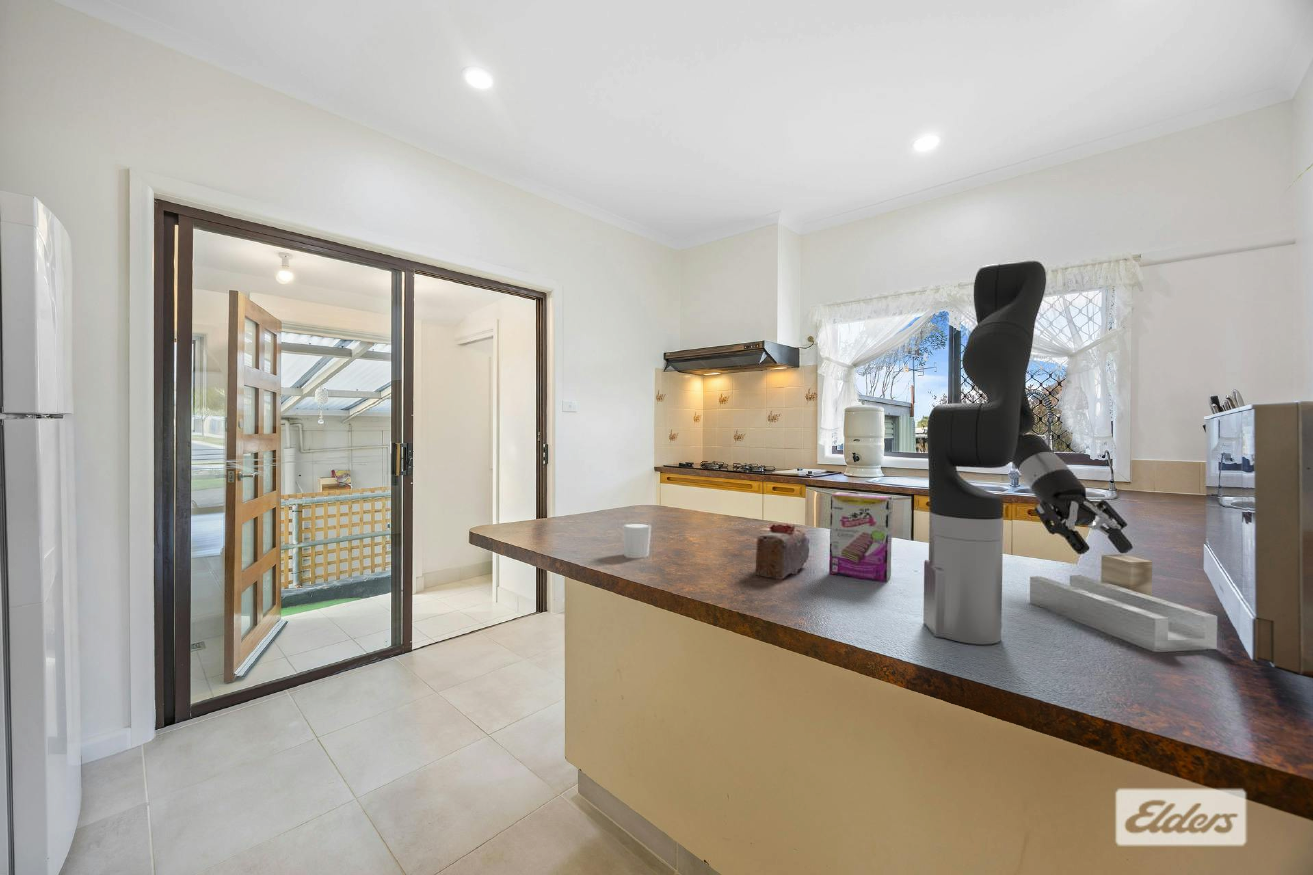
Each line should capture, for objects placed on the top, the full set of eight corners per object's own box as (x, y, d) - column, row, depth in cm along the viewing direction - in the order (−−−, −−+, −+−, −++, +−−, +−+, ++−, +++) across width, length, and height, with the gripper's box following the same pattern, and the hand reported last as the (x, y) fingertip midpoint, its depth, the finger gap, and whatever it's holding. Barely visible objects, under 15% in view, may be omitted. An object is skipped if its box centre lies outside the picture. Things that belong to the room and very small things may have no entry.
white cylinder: (618, 558, 118) (618, 527, 118) (625, 551, 125) (625, 522, 125) (648, 559, 117) (648, 528, 117) (653, 552, 124) (653, 523, 124)
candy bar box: (828, 574, 106) (829, 493, 106) (834, 569, 110) (835, 491, 110) (887, 583, 100) (889, 498, 100) (891, 577, 104) (893, 495, 104)
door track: (1154, 652, 70) (1155, 618, 69) (1029, 602, 89) (1030, 576, 89) (1216, 648, 71) (1217, 615, 71) (1079, 600, 91) (1080, 575, 90)
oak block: (1130, 610, 86) (1131, 562, 86) (1100, 600, 91) (1101, 554, 91) (1151, 609, 86) (1152, 561, 86) (1121, 600, 91) (1121, 554, 91)
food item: (775, 561, 116) (776, 517, 116) (811, 567, 112) (812, 521, 112) (751, 575, 105) (752, 526, 105) (790, 582, 101) (790, 531, 101)
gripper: (1029, 467, 100) (1084, 540, 88) (1095, 467, 101) (1158, 538, 90) (1007, 492, 105) (1056, 563, 94) (1070, 491, 107) (1126, 561, 96)
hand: (1106, 551), depth 92 cm, fingers open, 8 cm apart
